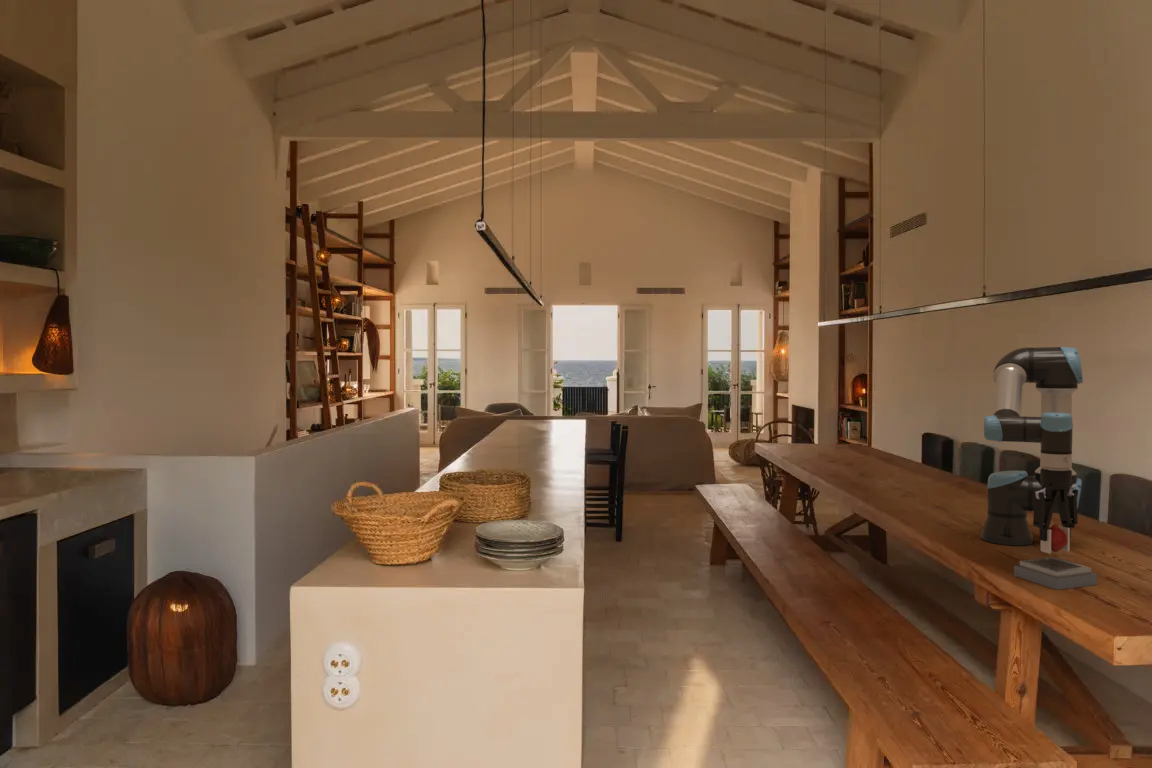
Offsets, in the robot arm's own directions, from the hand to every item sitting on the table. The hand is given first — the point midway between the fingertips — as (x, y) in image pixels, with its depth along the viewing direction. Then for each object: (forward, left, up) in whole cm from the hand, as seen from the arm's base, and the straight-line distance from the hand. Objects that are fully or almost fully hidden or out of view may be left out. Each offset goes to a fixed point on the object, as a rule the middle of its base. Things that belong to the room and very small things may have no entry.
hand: (1055, 551), depth 219 cm
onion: (0, 0, 0) cm, 0 cm away
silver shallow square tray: (0, 0, -8) cm, 8 cm away
